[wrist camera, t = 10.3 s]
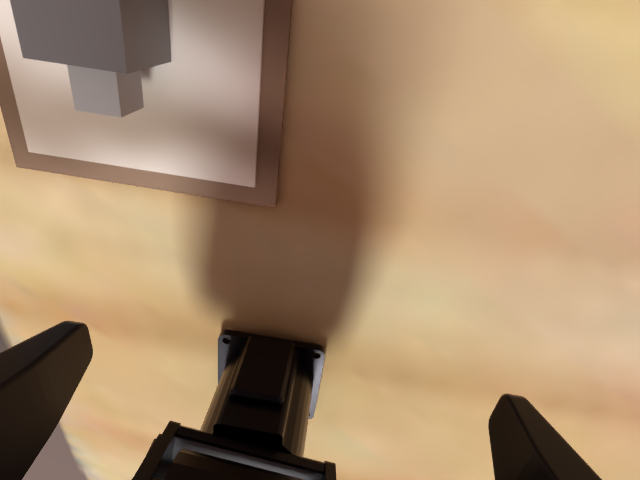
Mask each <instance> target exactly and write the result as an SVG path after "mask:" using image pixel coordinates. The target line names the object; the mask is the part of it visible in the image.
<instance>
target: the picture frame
mask: <svg viewBox="0 0 640 480" xmlns="http://www.w3.org/2000/svg"><path fill="white" fill-rule="evenodd" d="M292 1H293V0H168V8H169V26H170V44H171V62H169V63H165V64H161V65H158V66H154V67H150V68H147V69H143V70H141V81H142V92H143V103H144V108H142V109H140V110H137V111H135V112H133V113H131V114H128V115H126V116H124V117H122V118H121V117H114V116H108V115H102V114H95V113H89V112H82V111H76V110H75V107H74V102H73V96H72V90H71V85H70V79H69V73H68V68H67V65H65V64H59V63H52V62H46V61H39V60H33V59H26V58H23V56H22V52H21V47H20V43H19V38H18V34H17V30H16V25H15V21H14V16H13V12H12V7H11V3H10V0H0V107H1V110H2V114H3V118H4V122H5V125H6V129H7V133H8V137H9V140H10V144H11V148H12V152H13V155H14V159H15V163H16V167H20V168H26V169H32V170H38V171H45V172H51V173H57V174H64V175H70V176H76V177H83V178H89V179H95V180H101V181H108V182H114V183H120V184H127V185H133V186H139V187H146V188H152V189H158V190H164V191H171V192H177V193H183V194H190V195H196V196H202V197H208V198H215V199H221V200H227V201H234V202H240V203H246V204H253V205H259V206H265V207H271V208H275V206H276V200H277V188H278V175H279V163H280V150H281V138H282V125H283V113H284V100H285V88H286V75H287V63H288V51H289V38H290V26H291V13H292Z"/></svg>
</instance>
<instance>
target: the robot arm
mask: <svg viewBox="0 0 640 480" xmlns="http://www.w3.org/2000/svg"><path fill="white" fill-rule="evenodd" d="M226 338H228V339H226ZM315 353H319V354H315ZM92 355H93V349H92V344H91V339H90V335H89V330H88V327H87V326H86V324H84V323H80V322H74V321H64V322H62V323H59V324H57V325H55V326H53V327H51V328H49V329H47V330H45V331H43V332H41V333H39V334H37V335H35V336H33V337H31V338H29V339H27V340H25V341H23V342H21V343H19V344H17V345H15V346H13V347H11V348H9V349H7V350H5V351H3V352H1V353H0V480H22V478H23V477H24V475H25V474H26V472H27V471H28V469H29V468H30V466H31V465H32V463H33V462H34V460H35V458H36V457H37V456H38V454H39V452H40V451H41V449H42V448H43V446H44V445H45V443H46V442H47V440H48V439H49V437H50V436H51V434H52V432H53V431H54V429H55V428H56V426H57V424H58V422H59V420H60V419H61V417H62V415H63V413H64V411H65V409H66V407H67V405H68V403H69V402H70V400H71V398H72V396H73V394H74V392H75V390H76V388H77V386H78V384H79V382H80V381H81V379H82V377H83V375H84V373H85V371H86V369H87V367H88V365H89V363H90V361H91V359H92ZM324 358H325V349H324V348H323V347H322V346H320V345H315V344H309V343H303V342H297V341H291V340H285V339H278V338H272V337H266V336H260V335H254V334H248V333H242V332H236V331H230V330H224V331H222V332H221V334H220V336H219V339H218V386H217V389H216V391H215V394H214V397H213V399H212V402H211V404H210V407H209V409H208V412H207V415H206V417H205V420H204V422H203V425H202V427H201V430H196V429H192V428H189V427H185V426H181V423H177V422H173V421H170V422H169V423H168V425H167V427H166V429H165V430H164V432H163V434H159V435H158V437H157V439H154V441H153V443H152V445H151V447H150V449H149V451H148V453H147V455H146V457H145V459H144V460H143V462H142V464H141V466H140V467H139V469H138V471H137V472H136V474H135V476H134V477H133V479H132V480H336V466H335V463H332V462H328V461H325V462H320V461H316V460H312V459H308V458H305V457H303V454H304V447H305V439H306V432H307V425H308V419H311V418H313V416H314V412H315V406H316V401H317V396H318V390H319V385H320V380H321V374H322V369H323V364H324ZM489 436H490V444H491V452H492V460H493V468H494V475H495V480H602V479H601V478H600V477H599V476H598V475H597V474H596V473H595V472H594V471H593V470H592V469H591V467H590V466H589V465H588V464H587V463H586V462H585V461H584V460H583V459H582V458H581V457H580V456H579V455H578V454H577V452H576V451H575V450H574V449H573V448H572V447H571V446H570V445H569V444H568V443H567V442H566V441H565V440H564V439H563V437H562V436H561V435H560V434H559V433H558V432H557V431H556V430H555V429H554V428H553V427H552V426H551V425H550V424H549V422H548V421H547V420H546V419H545V418H544V417H543V416H542V415H541V414H540V413H539V412H538V411H537V410H536V409H535V407H534V406H533V405H532V404H531V403H530V402H529V401H528V400H527V399H526V398H524V397H522V396H518V395H512V394H503V395H502V396H501V397H500V399H499V401H498V403H497V405H496V407H495V408H494V410H493V412H492V414H491V416H490V419H489Z"/></svg>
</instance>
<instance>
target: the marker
mask: <svg viewBox="0 0 640 480" xmlns="http://www.w3.org/2000/svg"><path fill="white" fill-rule="evenodd" d="M10 3H11V7H12V12H13V16H14V21H15V25H16V30H17V34H18V38H19V43H20V47H21V52H22V56H23V58H26V59H33V60H39V61H46V62H52V63H59V64H65V65H67V68H68V73H69V79H70V85H71V90H72V96H73V102H74V107H75V110H76V111H82V112H89V113H95V114H102V115H108V116H114V117H121V118H122V117H124V116H126V115H128V114H131V113H133V112H135V111H137V110H140V109H142V108H144V103H143V92H142V81H141V70H143V69H147V68H150V67H154V66H158V65H161V64H165V63H169V62H171V44H170V26H169V8H168V0H10Z"/></svg>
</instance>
